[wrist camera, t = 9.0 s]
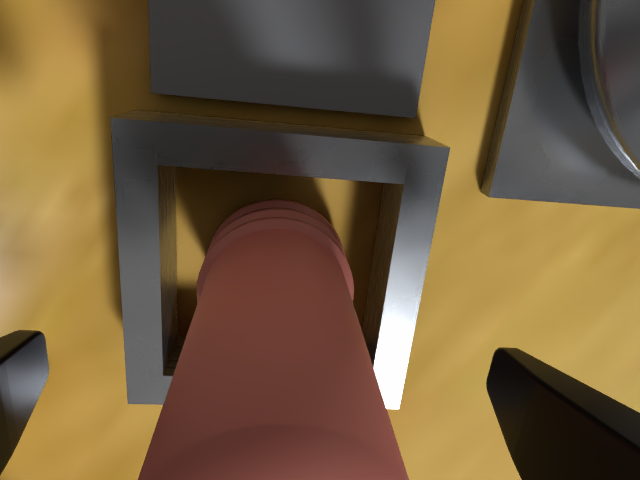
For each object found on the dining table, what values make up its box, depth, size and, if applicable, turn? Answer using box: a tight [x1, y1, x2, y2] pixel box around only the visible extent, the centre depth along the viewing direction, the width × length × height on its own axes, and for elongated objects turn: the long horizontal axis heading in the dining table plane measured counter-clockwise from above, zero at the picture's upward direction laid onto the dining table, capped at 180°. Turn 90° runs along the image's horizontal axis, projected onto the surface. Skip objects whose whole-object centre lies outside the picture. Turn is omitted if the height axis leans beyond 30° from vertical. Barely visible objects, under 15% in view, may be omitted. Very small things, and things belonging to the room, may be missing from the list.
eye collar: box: [111, 110, 450, 409], centre depth 13 cm, size 8×8×2 cm
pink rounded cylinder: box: [138, 199, 409, 480], centre depth 10 cm, size 4×4×9 cm
